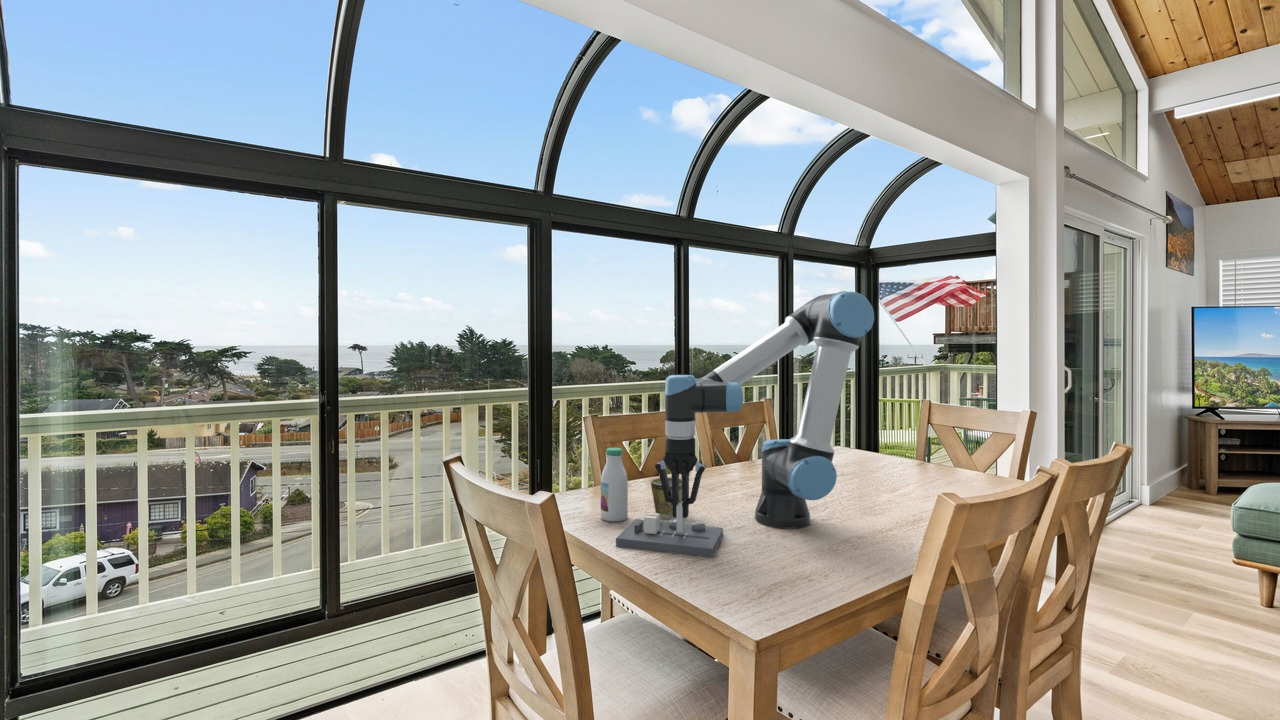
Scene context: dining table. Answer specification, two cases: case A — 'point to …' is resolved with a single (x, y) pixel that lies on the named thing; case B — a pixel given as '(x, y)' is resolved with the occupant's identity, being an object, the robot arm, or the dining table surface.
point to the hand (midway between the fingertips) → (680, 529)
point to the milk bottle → (614, 487)
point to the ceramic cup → (663, 498)
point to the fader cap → (651, 523)
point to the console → (673, 538)
